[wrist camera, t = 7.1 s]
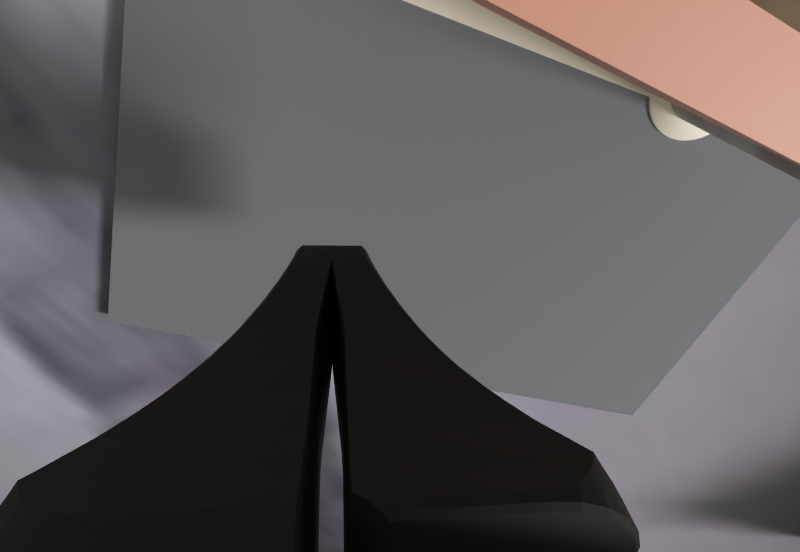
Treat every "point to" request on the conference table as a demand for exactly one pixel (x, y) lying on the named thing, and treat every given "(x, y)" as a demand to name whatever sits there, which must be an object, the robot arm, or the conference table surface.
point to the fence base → (795, 6)
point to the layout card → (429, 187)
